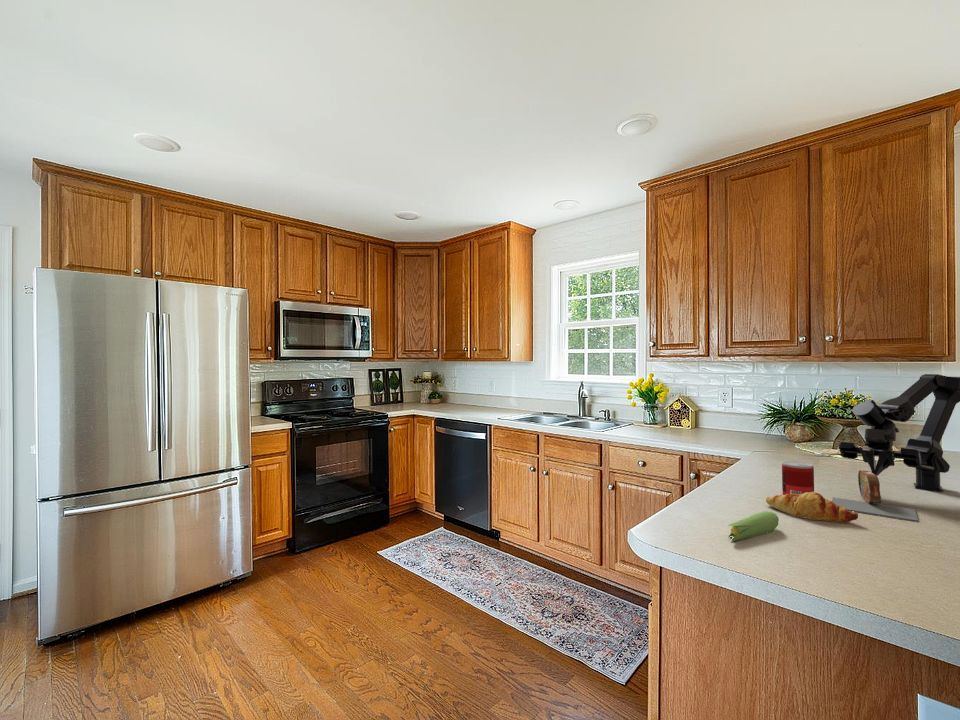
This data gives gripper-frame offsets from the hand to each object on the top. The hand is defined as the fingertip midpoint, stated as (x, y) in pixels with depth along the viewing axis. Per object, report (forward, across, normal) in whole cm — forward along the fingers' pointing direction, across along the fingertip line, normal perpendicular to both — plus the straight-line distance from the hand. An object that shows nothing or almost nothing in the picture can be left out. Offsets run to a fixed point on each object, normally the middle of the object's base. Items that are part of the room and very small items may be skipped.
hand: (874, 475), depth 135 cm
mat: (+13, +1, -3) cm, 14 cm away
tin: (+8, 0, +2) cm, 8 cm away
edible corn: (+46, -13, -35) cm, 59 cm away
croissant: (+27, -9, -15) cm, 32 cm away
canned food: (+17, -15, -6) cm, 24 cm away
